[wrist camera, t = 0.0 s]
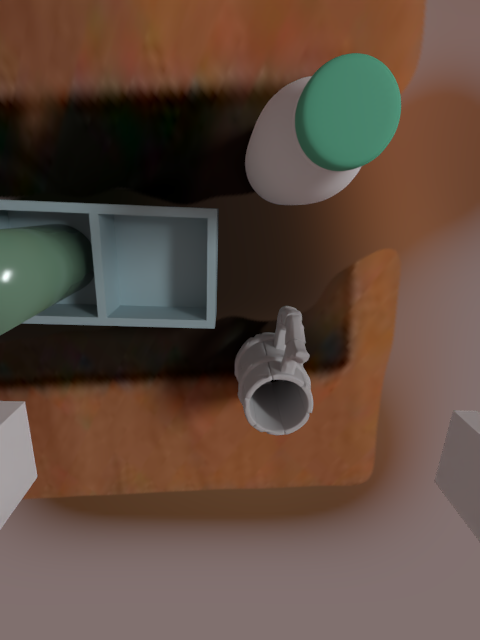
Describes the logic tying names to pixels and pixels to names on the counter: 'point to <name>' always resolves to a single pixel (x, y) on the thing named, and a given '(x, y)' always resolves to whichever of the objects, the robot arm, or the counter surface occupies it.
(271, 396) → the mug
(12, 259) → the green bottle
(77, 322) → the crate
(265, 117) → the milk bottle
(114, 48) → the counter surface
